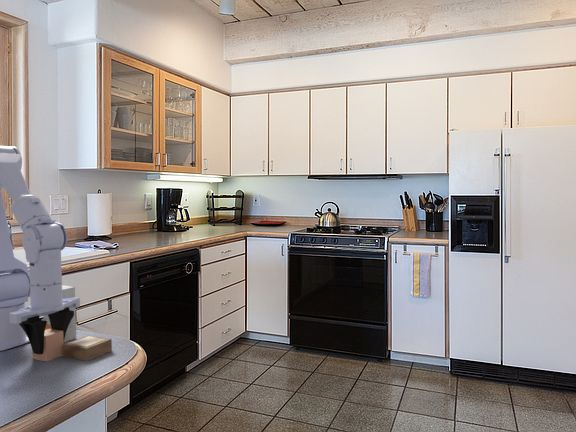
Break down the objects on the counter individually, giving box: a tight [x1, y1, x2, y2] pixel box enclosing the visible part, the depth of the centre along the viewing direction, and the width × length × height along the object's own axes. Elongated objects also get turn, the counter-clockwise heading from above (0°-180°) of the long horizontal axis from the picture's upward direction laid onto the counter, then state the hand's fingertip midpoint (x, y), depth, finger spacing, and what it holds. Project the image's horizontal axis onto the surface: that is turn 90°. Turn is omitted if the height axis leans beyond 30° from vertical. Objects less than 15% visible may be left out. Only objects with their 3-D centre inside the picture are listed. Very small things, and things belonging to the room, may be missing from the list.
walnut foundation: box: [62, 334, 113, 362], centre depth 95 cm, size 6×6×3 cm
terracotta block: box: [32, 329, 65, 362], centre depth 93 cm, size 4×4×5 cm
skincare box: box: [42, 284, 77, 343], centre depth 104 cm, size 6×4×12 cm
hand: (48, 349), depth 93 cm, fingers closed on terracotta block, 4 cm apart
